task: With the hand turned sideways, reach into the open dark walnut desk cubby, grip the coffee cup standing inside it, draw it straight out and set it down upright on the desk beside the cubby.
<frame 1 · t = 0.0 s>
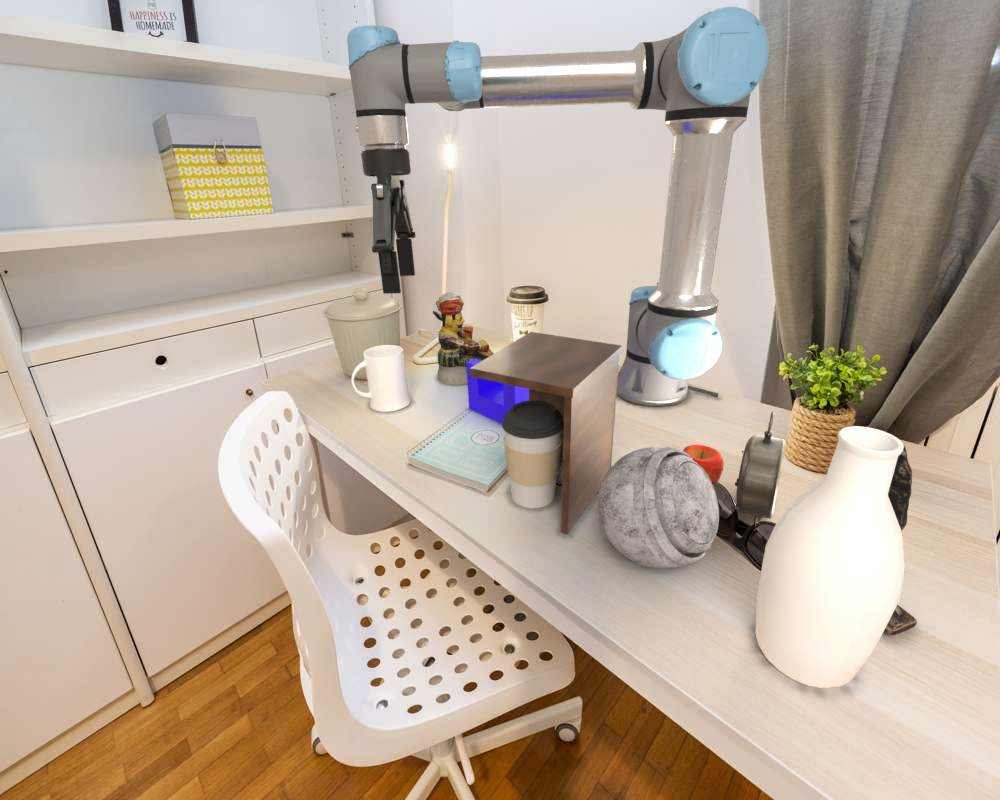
hand: (400, 283, 90), 28 cm above the table, tool pointing down, fingers open, 13 cm apart
mug: (383, 406, 111), on the table
apple: (695, 493, 79), on the table
bottle: (802, 652, 54), on the table
decorative orb: (651, 553, 68), on the table
coffee cup: (533, 495, 80), on the table
blue hollow box: (527, 403, 110), on the table
figurine: (463, 377, 124), on the table
canister: (372, 373, 128), on the table
alarm clock: (750, 513, 74), on the table
statue: (870, 613, 58), on the table
cubby: (533, 494, 80), on the table
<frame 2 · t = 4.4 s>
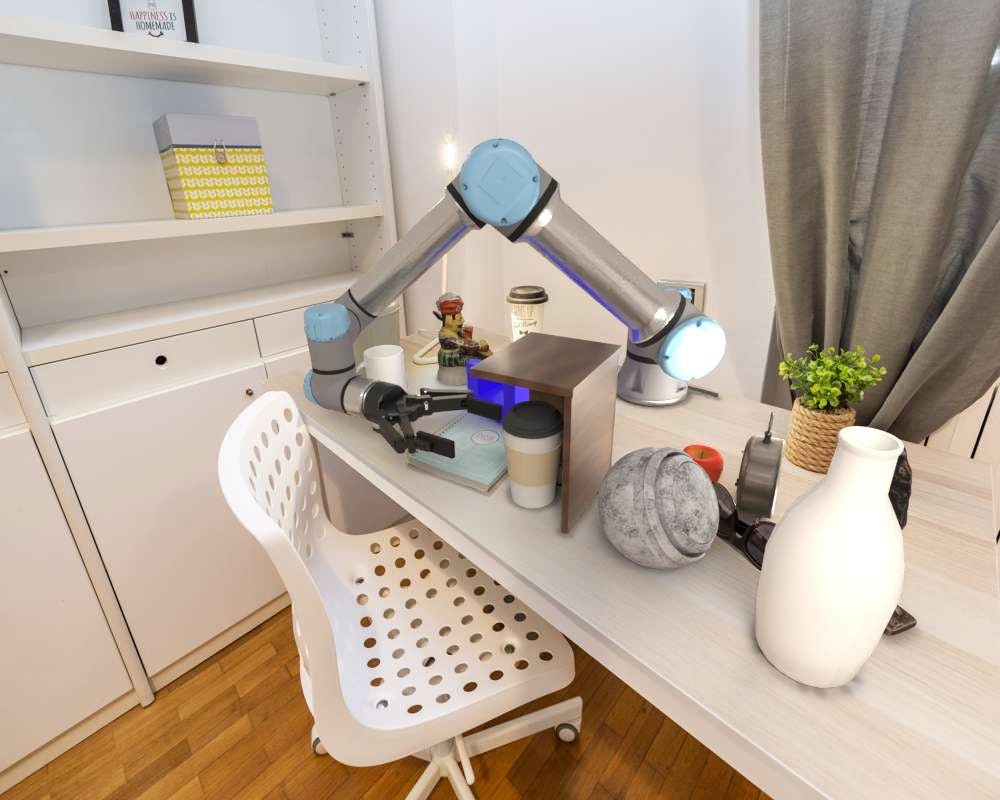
hand: (478, 430, 81), 9 cm above the table, tool horizontal, fingers open, 13 cm apart
nothing on the table moved.
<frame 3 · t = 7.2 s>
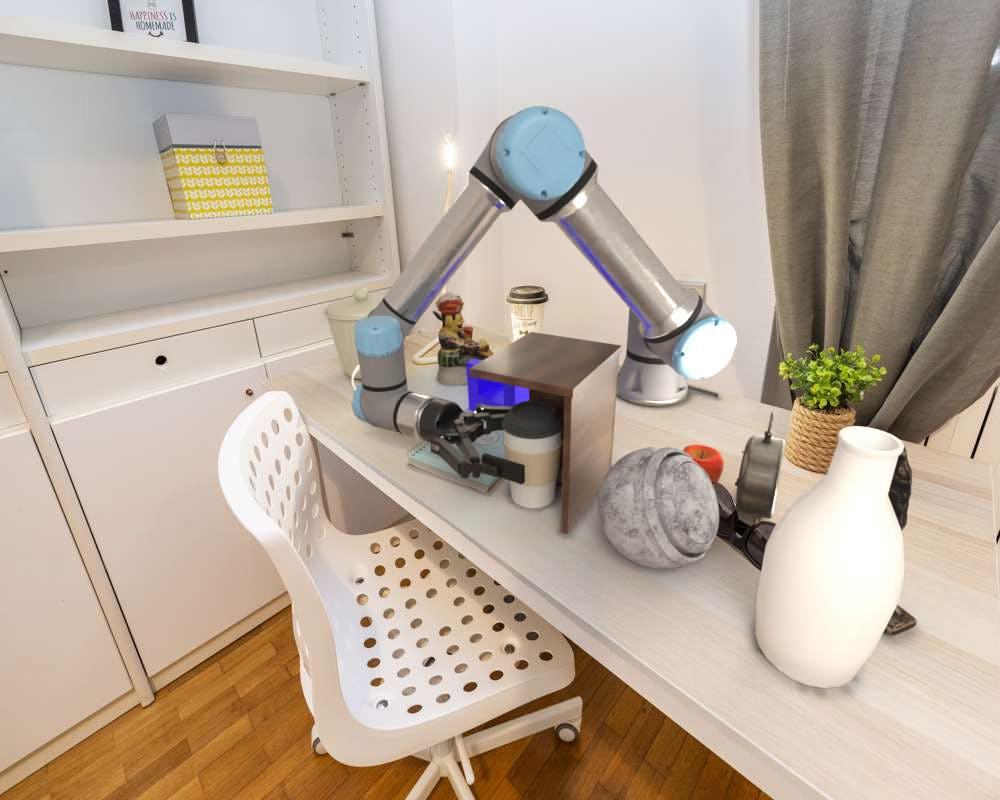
hand: (546, 452, 75), 8 cm above the table, tool horizontal, fingers open, 13 cm apart
nothing on the table moved.
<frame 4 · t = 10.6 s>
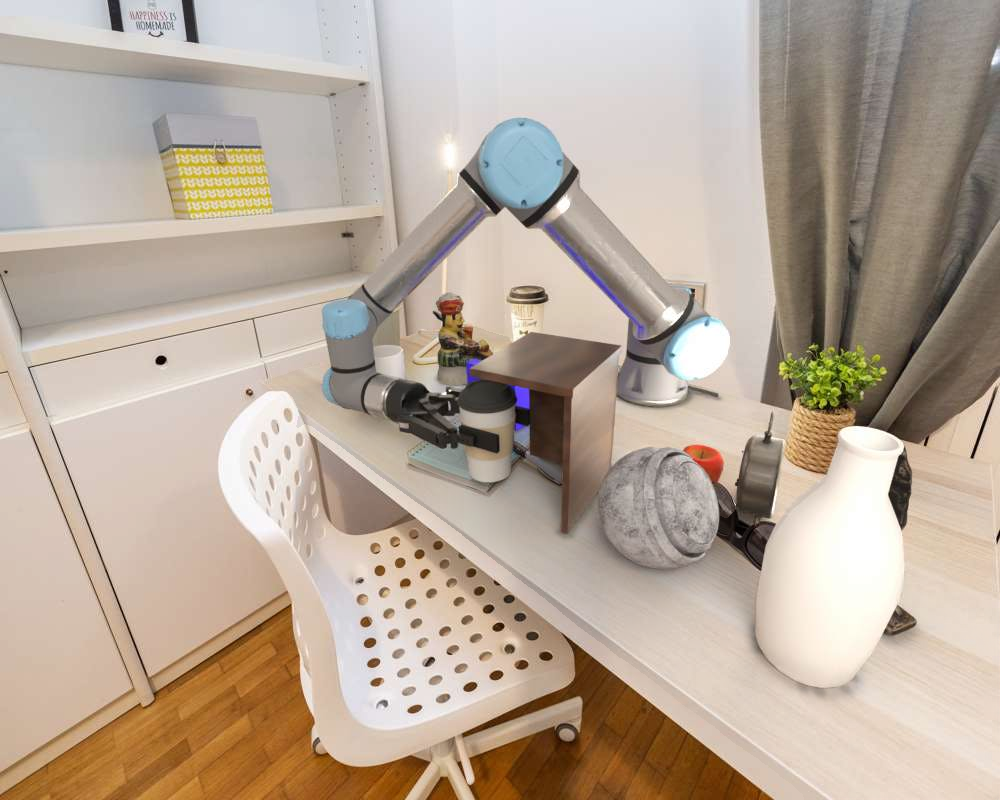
hand: (514, 430, 77), 11 cm above the table, tool horizontal, fingers closed on coffee cup, 9 cm apart
coffee cup: (490, 471, 83), point 2 cm above the table, touching gripper
everything else where it was.
when the fingers open (8 cm above the table, at t = 13.4 s): coffee cup stays where it is, on the table.
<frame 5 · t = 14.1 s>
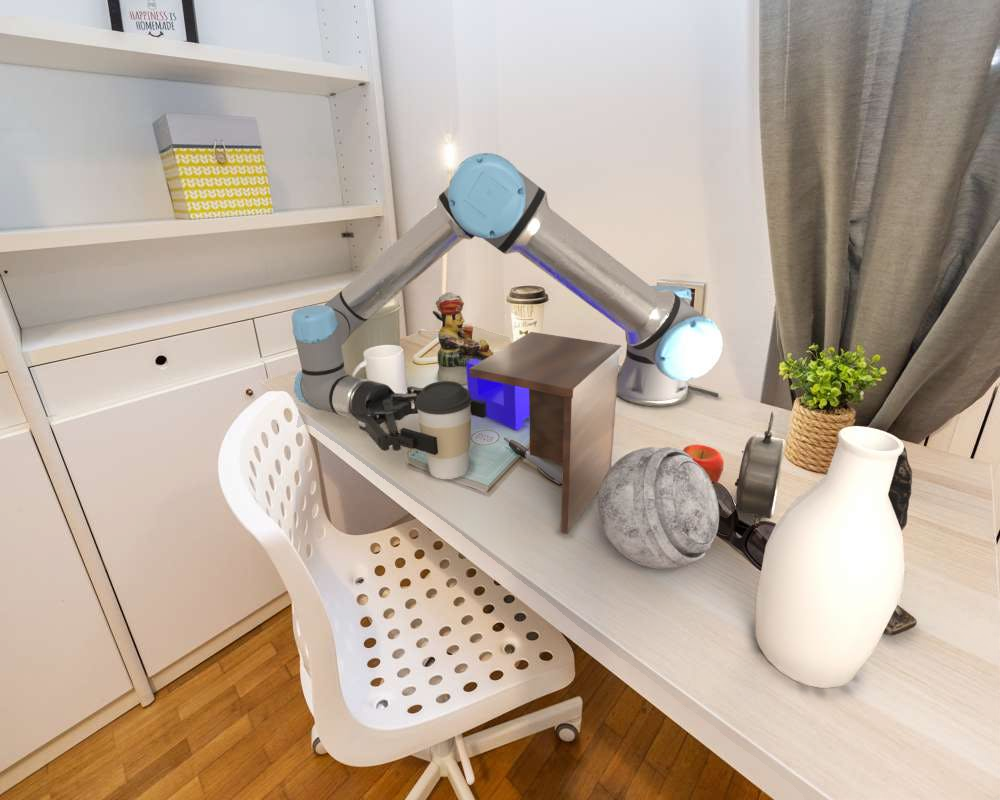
hand: (462, 427, 82), 9 cm above the table, tool horizontal, fingers open, 13 cm apart
coffee cup: (449, 468, 87), on the table
everything else where it was.
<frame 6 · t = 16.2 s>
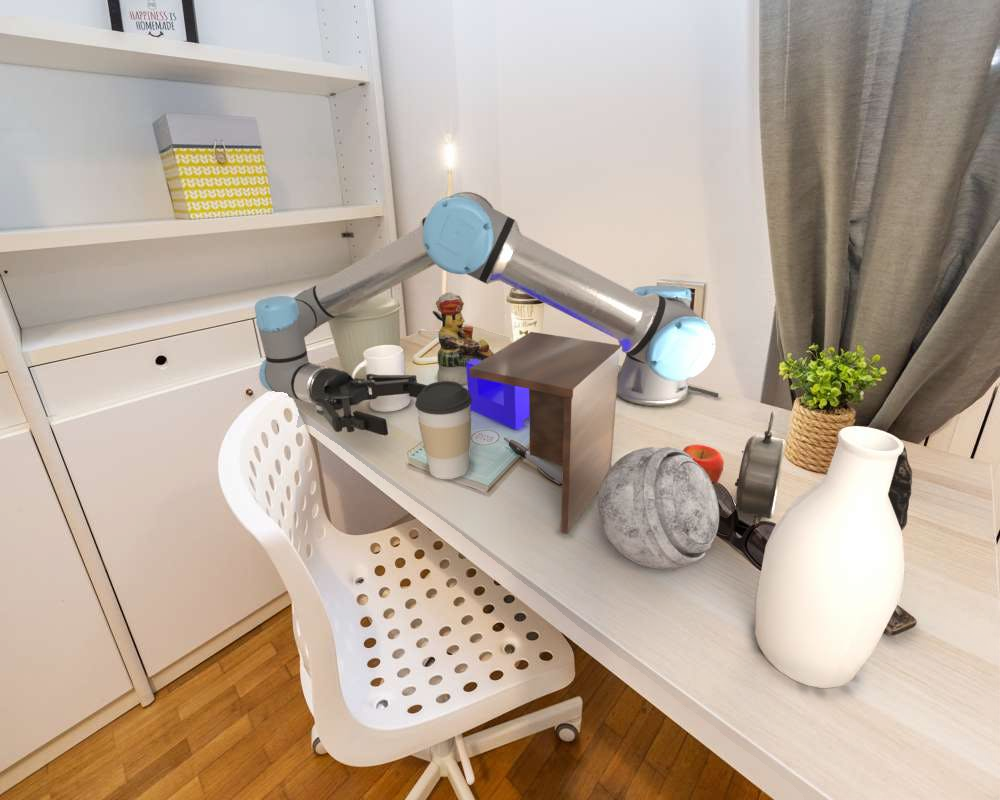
hand: (413, 410, 87), 9 cm above the table, tool horizontal, fingers open, 13 cm apart
nothing on the table moved.
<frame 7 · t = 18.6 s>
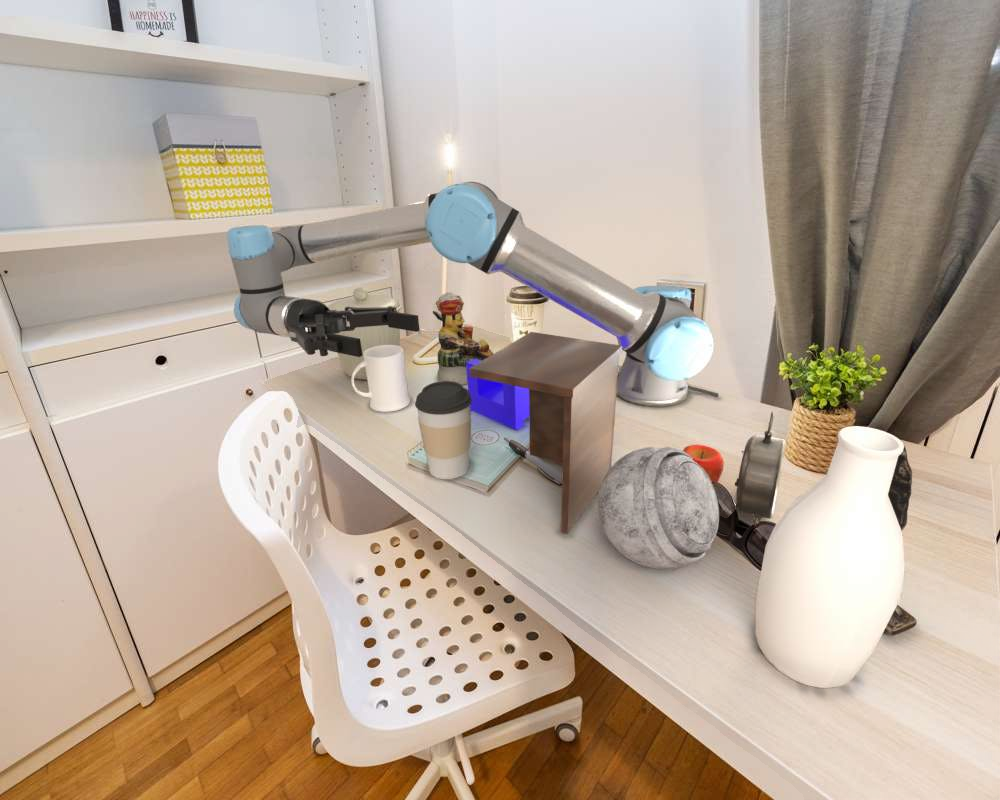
hand: (390, 335, 82), 22 cm above the table, tool horizontal, fingers open, 13 cm apart
nothing on the table moved.
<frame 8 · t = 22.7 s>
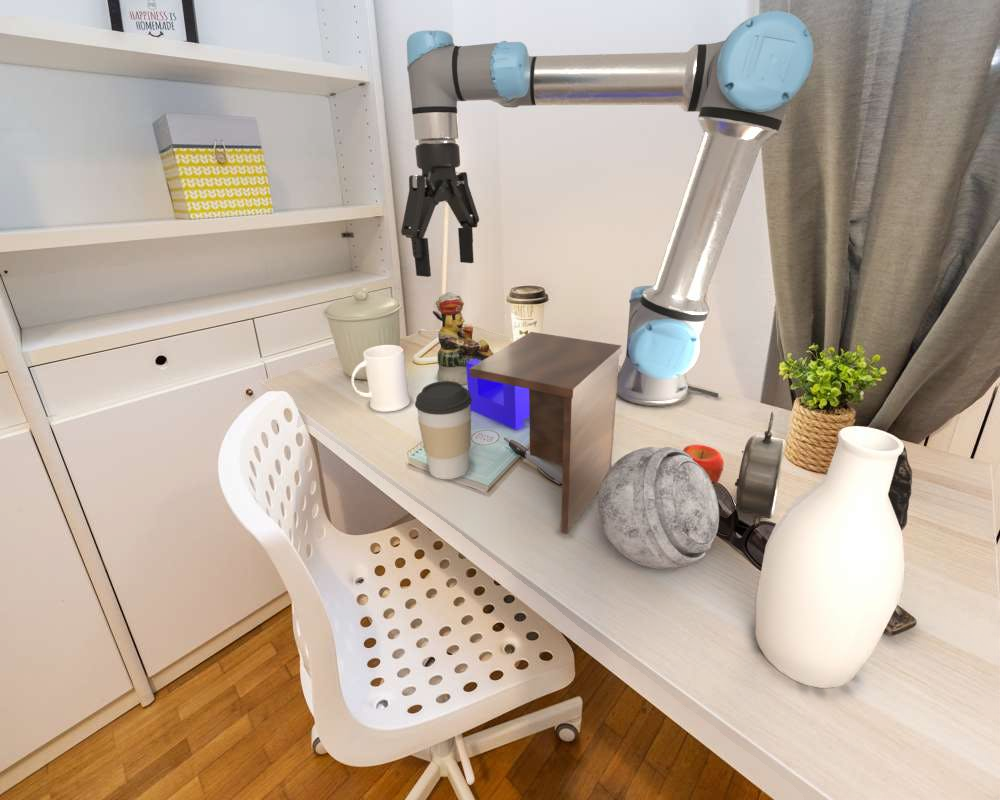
hand: (446, 269, 97), 29 cm above the table, tool pointing down, fingers open, 13 cm apart
nothing on the table moved.
at the end: coffee cup inside the target area (0.1 cm from its centre), on the table; coffee cup tilted 0°; the gripper is holding nothing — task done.
